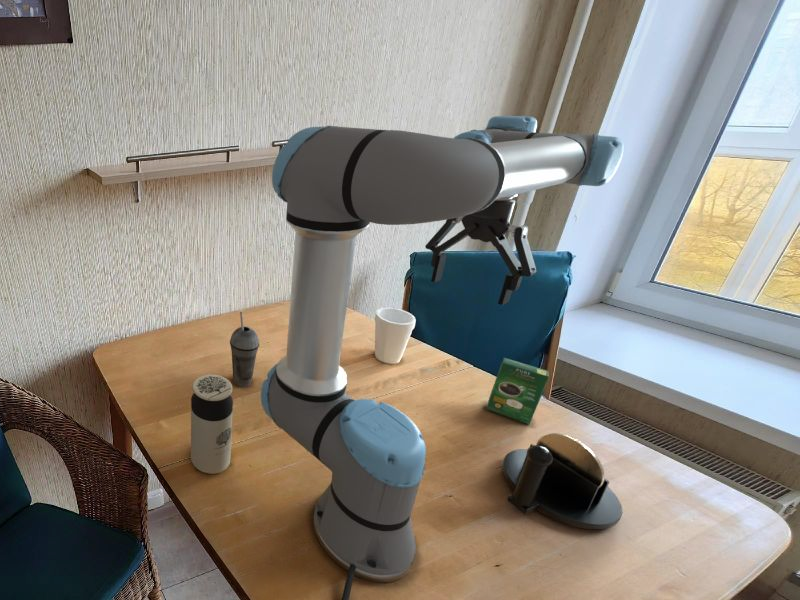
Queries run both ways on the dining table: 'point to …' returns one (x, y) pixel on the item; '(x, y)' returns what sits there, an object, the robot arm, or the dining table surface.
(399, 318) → the foam cup
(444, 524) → the dining table surface
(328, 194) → the robot arm
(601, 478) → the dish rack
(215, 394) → the travel mug
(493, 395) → the coffee box
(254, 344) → the beverage cup
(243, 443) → the dining table surface
